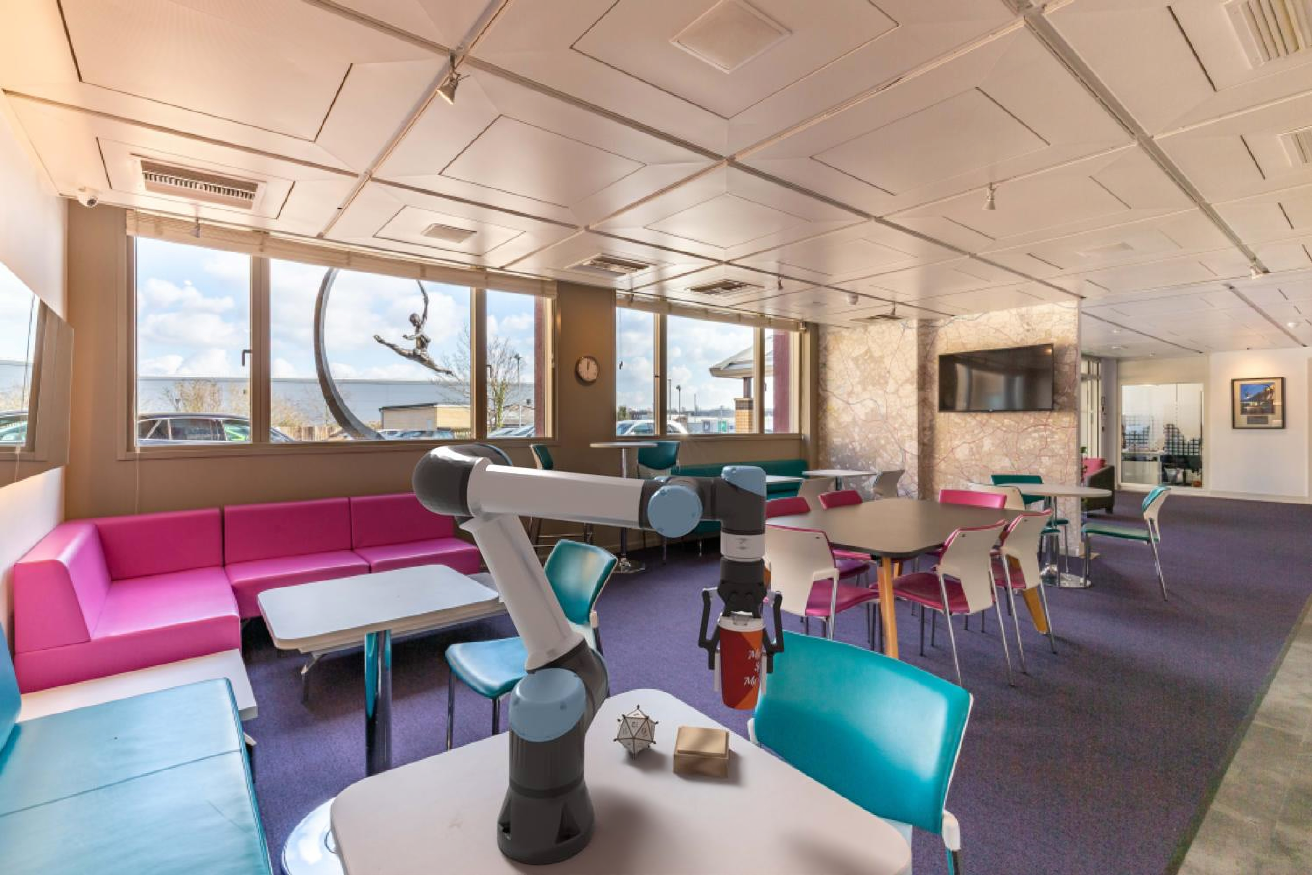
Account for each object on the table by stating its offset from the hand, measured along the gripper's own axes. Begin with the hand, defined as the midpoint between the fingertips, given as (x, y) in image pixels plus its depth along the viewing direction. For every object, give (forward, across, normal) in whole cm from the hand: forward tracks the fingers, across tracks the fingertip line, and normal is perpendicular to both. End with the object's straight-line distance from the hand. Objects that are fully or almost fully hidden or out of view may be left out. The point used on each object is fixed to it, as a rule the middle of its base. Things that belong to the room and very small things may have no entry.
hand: (739, 689), depth 104 cm
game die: (+19, -20, +12) cm, 30 cm away
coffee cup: (+2, 0, 0) cm, 2 cm away
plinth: (+19, -7, +11) cm, 23 cm away
